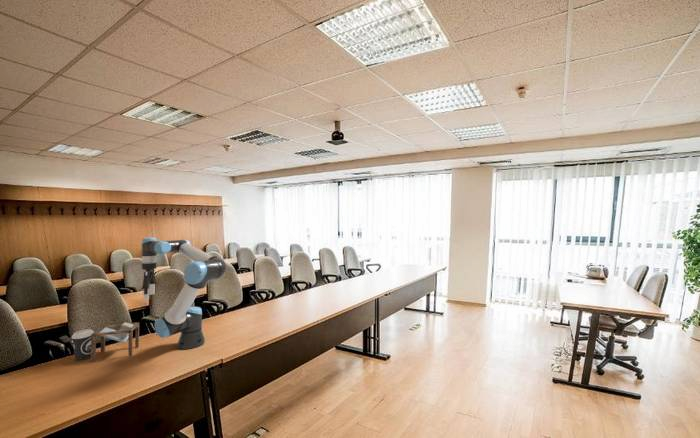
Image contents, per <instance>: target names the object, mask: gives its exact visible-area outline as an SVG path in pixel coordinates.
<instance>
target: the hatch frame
mask: <svg viewBox="0 0 700 438" xmlns="http://www.w3.org/2000/svg"><path fill="white" fill-rule="evenodd" d="M129 323H130V322H129ZM122 324H123V323H122ZM122 324H121V323H120V324H111V325H102V326H100V327H99V328H98V329H97V330H95V331H93V332H94V333H93V334H92V335H91V357H90V361H91V363H94V362H96V360H97V359H96V358H97V337H100V353H101V354H102V353H104V352H106V337H103V335H112V334H120V333H129V334H128V335H129V338H128V349H127V350H128V353H127V354H128V357H130V358H131V357H132V356H133V336H134V339H135V341H134V344H135V345H134V348H135V349H139V348H140V347H139V346H140V322H131V323H130V324H133V326H132V327H131V329H130V330H121V331H119V330H116V331H112V332H103V333H99V332H100V331H101V330H102V329H104V328H105V327H107V328H110V329H116V328H120V327H121V326H122ZM134 330H135V331H134ZM133 331H134V332H133ZM133 333H134V334H135V335H133Z"/></svg>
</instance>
